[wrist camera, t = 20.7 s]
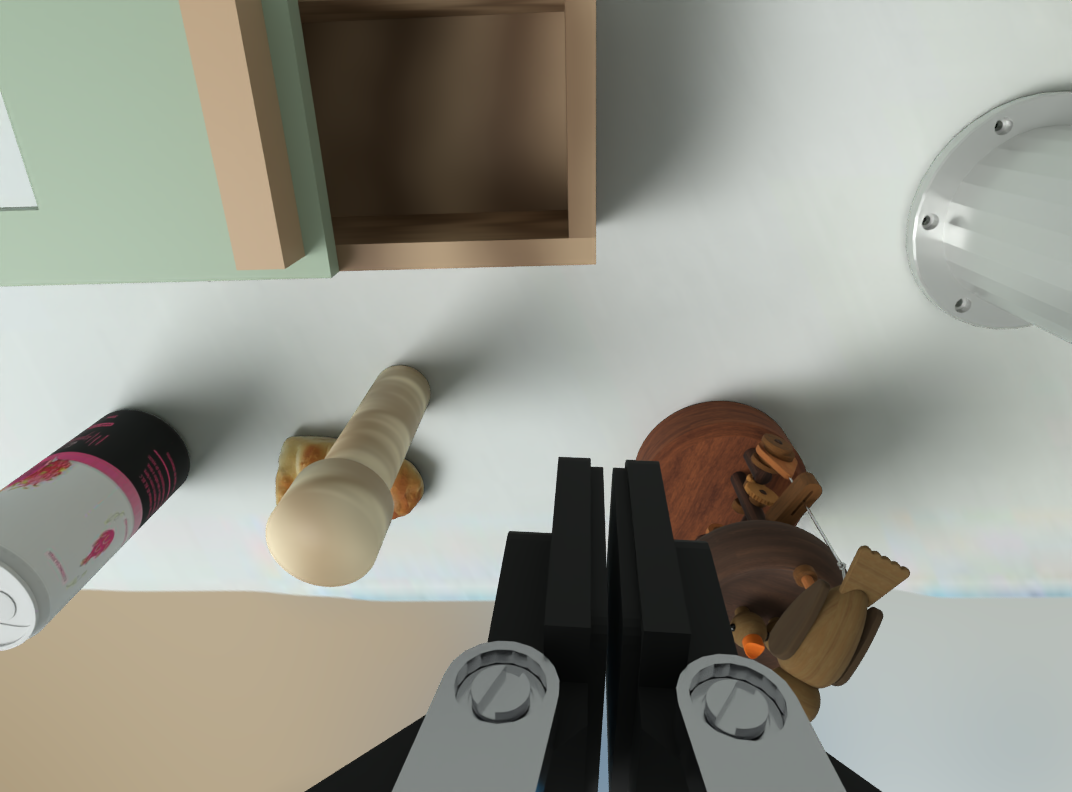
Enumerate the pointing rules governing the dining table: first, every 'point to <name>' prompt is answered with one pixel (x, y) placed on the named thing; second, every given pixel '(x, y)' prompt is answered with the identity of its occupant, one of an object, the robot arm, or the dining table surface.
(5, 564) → the beverage can
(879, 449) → the dining table surface
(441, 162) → the wooden box
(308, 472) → the pin
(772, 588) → the music box
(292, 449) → the pastry
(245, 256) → the green box lid
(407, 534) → the dining table surface
